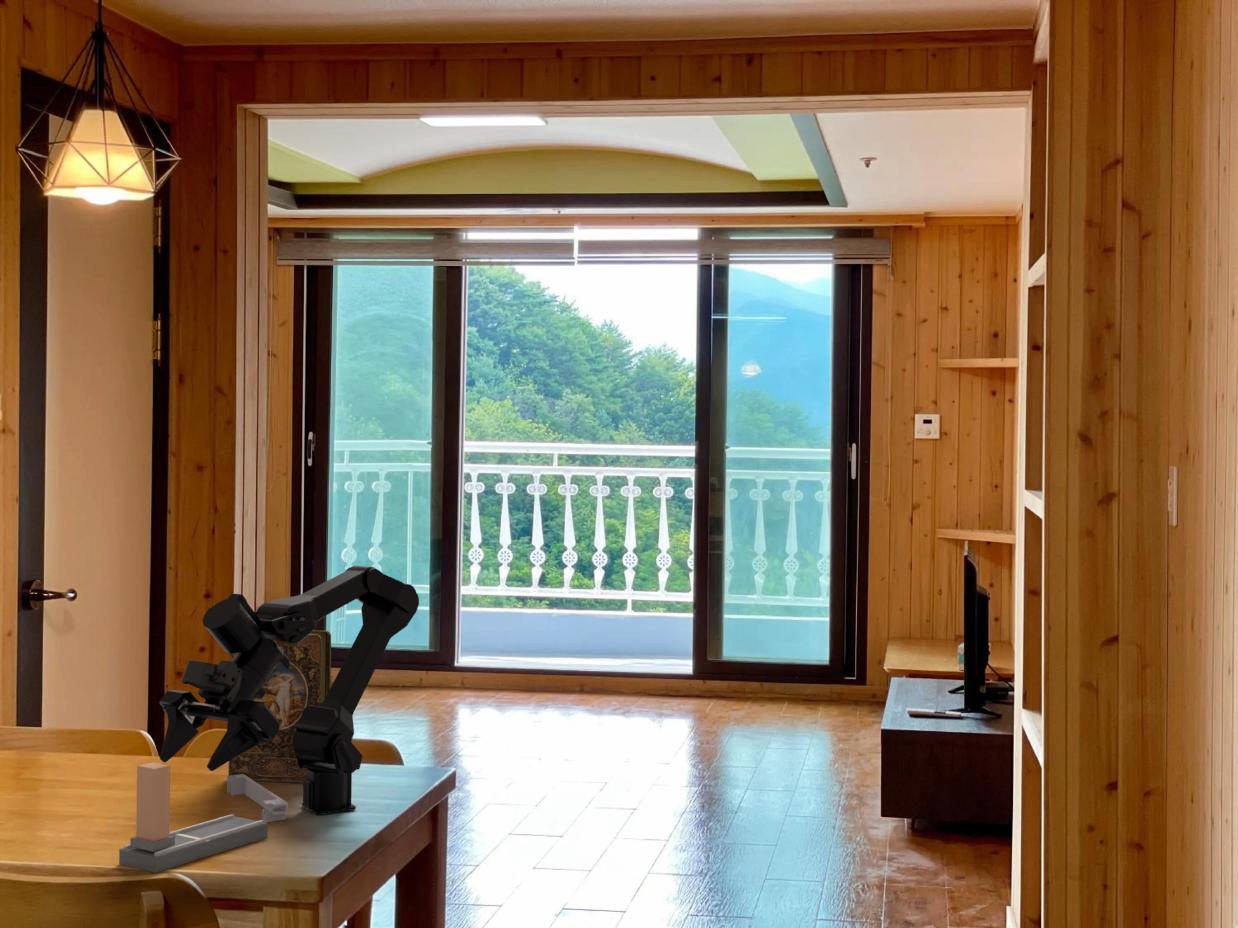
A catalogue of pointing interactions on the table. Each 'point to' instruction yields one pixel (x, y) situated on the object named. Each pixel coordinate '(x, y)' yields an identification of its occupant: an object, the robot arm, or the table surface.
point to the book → (288, 710)
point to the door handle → (258, 797)
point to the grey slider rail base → (196, 843)
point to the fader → (153, 808)
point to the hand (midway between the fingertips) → (185, 764)
